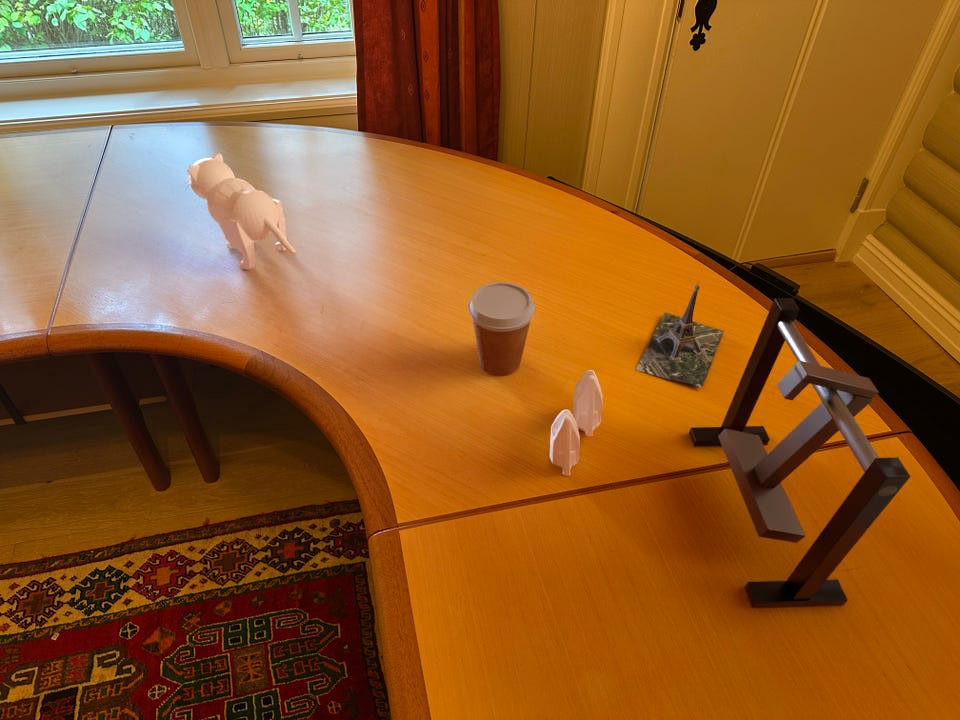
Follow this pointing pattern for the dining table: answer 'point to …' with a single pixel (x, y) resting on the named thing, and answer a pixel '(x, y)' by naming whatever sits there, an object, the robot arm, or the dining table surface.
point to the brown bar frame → (789, 449)
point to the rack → (859, 505)
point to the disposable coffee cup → (501, 325)
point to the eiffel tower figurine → (681, 348)
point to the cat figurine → (238, 208)
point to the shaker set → (576, 422)
